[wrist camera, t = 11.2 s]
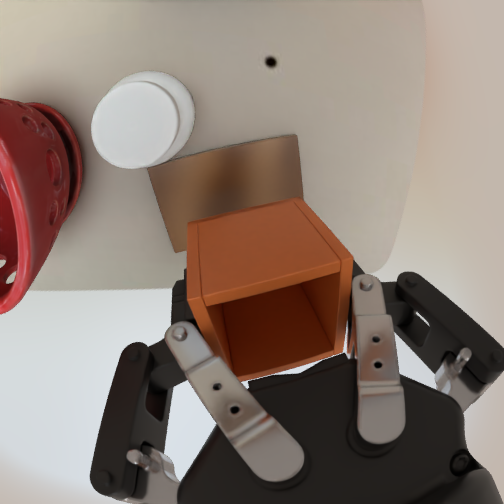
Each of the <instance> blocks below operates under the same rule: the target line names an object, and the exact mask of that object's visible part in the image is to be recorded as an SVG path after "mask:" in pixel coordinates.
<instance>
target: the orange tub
mask: <svg viewBox="0 0 504 504" xmlns="http://www.w3.org/2000/svg"><path fill="white" fill-rule="evenodd" d="M352 271H353V256H352V255H351V253H350V252H349V251H348V250H347V249H346V248H345V246H344V245H343V244H342V243H341V242H340V241H339V239H338V238H337V237H336V236H335V235H334V234H333V233H332V231H331V230H330V229H329V228H328V227H327V226H326V225H325V224H324V222H323V221H322V220H321V219H320V218H319V217H318V216H317V215H316V214H315V213H314V211H313V210H312V209H311V208H310V207H309V206H308V205H307V204H306V203H305V202H304V201H303V200H302V198H301V197H295V198H290V199H285V200H280V201H276V202H271V203H267V204H262V205H258V206H253V207H249V208H244V209H240V210H236V211H232V212H227V213H223V214H219V215H215V216H211V217H207V218H203V219H199V220H195V221H191V222H188V223H187V301H188V303H189V306H190V308H191V310H192V313H193V315H194V317H195V319H196V322H197V324H198V326H199V328H200V331H201V333H202V335H203V337H204V339H205V341H206V343H207V344H208V345H209V347H210V348H211V349H212V350H213V352H214V353H215V354H218V355H219V356H220V357H221V358H222V360H223V361H224V362H225V363H226V365H227V366H228V367H229V368H230V370H231V371H232V372H233V373H234V374H235V376H236V377H237V378H238V379H239V381H240V382H242V381H246V380H251V379H255V378H259V377H263V376H267V375H271V374H275V373H278V372H282V371H286V370H289V369H292V368H296V367H299V366H302V365H306V364H309V363H312V362H315V361H318V360H321V359H325V358H328V357H331V356H333V355H336V354H339V353H342V352H343V347H344V341H345V334H346V327H347V319H348V311H349V302H350V293H351V282H352Z"/></svg>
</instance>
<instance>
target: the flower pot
mask: <svg viewBox="0 0 504 504" xmlns="http://www.w3.org/2000/svg"><path fill="white" fill-rule="evenodd" d="M81 182H82V158H81V152H80V148H79V144H78V141H77V138H76V136H75V134H74V132H73V130H72V128H71V127H70V125H69V123H68V122H67V121H66V120H65V118H64V117H63V116H62V115H61V114H60V113H59V112H57V111H56V110H55V109H53V108H51V107H49V106H47V105H44V104H41V103H21V102H18V101H13V100H8V99H1V98H0V260H6V263H5V265H4V266H3V267H1V268H0V314H3V313H6V312H8V311H10V310H11V309H13V308H14V307H15V306H16V305H17V304H18V303H19V302H20V301H21V300H22V298H23V297H24V295H25V294H26V292H27V291H28V289H29V287H30V286H31V284H32V283H33V281H34V279H35V278H36V276H37V274H38V273H39V271H40V269H41V267H42V266H43V264H44V262H45V260H46V258H47V257H48V255H49V253H50V251H51V249H52V247H53V244H54V242H55V240H56V238H57V235H58V233H59V230H60V228H61V225H62V223H63V222H64V221H65V220H66V219H67V218H68V216H69V215H70V213H71V212H72V210H73V208H74V206H75V204H76V202H77V199H78V196H79V192H80V188H81ZM15 271H17V272H16V276H15V280H14V282H12V283H9V284H6V280H7V279H8V277H9V276H10V275H11V274H12V273H13V272H15Z"/></svg>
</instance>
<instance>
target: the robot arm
mask: <svg viewBox="0 0 504 504" xmlns="http://www.w3.org/2000/svg"><path fill="white" fill-rule="evenodd" d="M416 311H417V312H418V313H419V314H420V315H421V316H422V317H424V319H425V320H426V321H427V322H428V323H429V326H430V327H429V326H428V325H427V324H426V323H425V322H424V321H423V320H422V319H421V318H420V317H419V316H417V314H416ZM394 332H395V333H396V334H397V335H398V336H399V337H400V338H401V339H402V340H403V341H404V342H405V343H406V344H407V345H408V346H409V347H410V348H411V349H412V351H413V352H415V354H416V355H417V356H418V357H419V358H420V359H421V360H422V361H423V362H424V363H425V364H426V365H427V366H428V368H429V369H431V371H432V372H433V373H434V374H435V382H436V384H437V386H436V388H437V390H436V389H433V388H431V387H429V386H426V385H424V384H422V383H419V382H417V381H415V380H412V379H410V378H408V377H406V376H403V375H401V374H399V366H398V357H397V349H396V342H395V335H394ZM503 371H504V348H503V347H502V346H501V345H500V344H499V343H498V342H497V341H496V340H495V339H494V338H493V337H492V336H491V335H489V334H488V333H487V332H486V331H485V330H484V329H483V328H482V327H481V326H480V325H479V324H478V323H476V322H475V321H474V320H473V319H472V318H471V317H470V316H469V315H467V314H466V313H465V312H464V311H463V310H462V309H461V308H459V307H458V306H457V305H456V304H455V303H453V302H452V301H451V300H450V299H449V298H448V297H446V296H445V295H444V294H443V293H441V292H440V291H439V290H438V289H437V288H435V287H434V286H433V285H432V284H430V283H429V282H428V281H427V280H425V279H424V278H423V277H422V276H420V275H419V274H417V273H414V272H403V273H401V274H400V275H399V276H398V278H397V282H380V280H379V279H378V278H377V277H375V276H373V275H370V274H365V273H364V272H363V270H362V269H361V268H360V267H359V265H358V264H357V263H356V262H355V261H354V259H353V271H352V282H351V293H350V302H349V311H348V319H347V355H346V354H345V353H342V354H339V355H336V356H333V357H331V358H328V359H325V360H322V361H320V362H319V363H317V364H315V365H314V366H312V367H310V368H309V369H307V370H305V371H303V372H301V373H298V374H284V375H271V376H267V377H263V378H259V379H255V380H251V381H248V384H249V388H248V389H246V388H245V386H244V385H243V384H242V383H241V382H240V381H239V379H238V378H237V377H236V376H235V374H234V373H233V372H232V371H231V370H230V368H229V367H228V366H227V365H226V363H225V362H224V361H223V360H222V358H221V357H220V356H219V355H218V354H215V353H214V352H213V350H212V349H211V348H210V347H209V345H208V344H207V343H206V341H205V339H204V337H203V335H202V333H201V331H200V328H199V326H198V324H197V322H196V319H195V317H194V315H193V313H192V310H191V308H190V306H189V303H188V301H187V268H186V269H184V279H183V280H179V281H176V283H175V285H174V287H173V289H172V311H171V326H170V327H169V328H168V329H167V331H166V333H165V337H164V339H162V340H161V341H159V342H157V343H155V344H153V345H151V346H149V347H148V346H147V345H146V344H144V343H141V342H135V343H132V344H130V345H128V346H127V347H126V348H125V349H124V350H123V351H122V353H121V356H120V359H119V362H118V365H117V368H116V371H115V375H114V378H113V381H112V385H111V388H110V392H109V395H108V399H107V402H106V406H105V409H104V413H103V417H102V421H101V426H100V429H99V433H98V438H97V442H96V447H95V451H94V456H93V461H92V466H91V471H90V481H91V484H92V486H93V488H94V489H95V490H96V491H97V492H98V493H100V494H102V495H105V496H108V497H112V498H114V499H116V500H119V501H124V502H127V503H132V504H503V502H502V499H501V496H500V494H499V492H498V489H497V487H496V485H495V482H494V480H493V478H492V476H491V474H490V473H489V471H487V470H486V469H485V468H484V467H483V466H482V465H481V464H479V463H478V462H477V461H476V460H475V459H474V458H473V457H472V455H471V454H470V453H469V451H468V449H467V445H466V440H465V431H464V414H463V413H464V411H465V410H466V409H467V408H468V407H469V406H470V405H471V404H473V403H474V402H475V401H476V400H477V399H478V398H479V397H480V396H481V395H482V394H483V393H484V392H485V391H486V390H487V389H488V388H489V387H490V386H491V384H493V382H494V381H495V380H496V379H497V378H498V377H499V376H500V374H501V373H502V372H503ZM186 380H188V381H189V383H190V384H191V386H192V388H193V389H194V390H195V392H196V394H197V395H198V397H199V398H200V400H201V401H202V403H203V404H204V406H205V407H206V409H207V410H208V412H209V413H210V415H211V416H212V418H213V419H214V420H215V422H216V423H217V424H216V426H215V427H214V429H213V431H212V432H211V434H210V436H209V437H208V439H207V441H206V442H205V444H204V445H203V447H202V449H201V450H200V452H199V454H198V455H197V457H196V458H195V460H194V461H193V463H192V465H191V467H190V468H189V469H188V471H187V472H186V474H185V476H184V477H183V479H182V480H181V482H180V481H179V480H178V479H177V478H176V475H175V472H174V464H173V462H172V460H171V459H170V458H169V457H168V456H166V455H165V454H164V449H165V440H166V434H167V426H168V419H169V413H170V406H171V399H172V393H173V387H174V386H176V385H178V384H180V383H182V382H184V381H186Z"/></svg>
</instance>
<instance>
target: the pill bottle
mask: <svg viewBox="0 0 504 504" xmlns="http://www.w3.org/2000/svg"><path fill="white" fill-rule="evenodd" d="M194 122H195V105H194V101H193V98H192V95H191V93H190V92H189V90H188V89H187V88H186V87H185V85H184V84H182V83H181V82H180V81H179V80H178V79H176V78H175V77H173V76H171V75H169V74H167V73H164V72H159V71H142V72H137V73H134V74H131V75H129V76H127V77H125V78H123V79H121V80H120V81H119V82H117V83H116V84H115V85H114V86H113V87H112V88H111V89H110V90H109V91H108V93H107V94H106V95H105V96H104V97H103V98H102V100H101V101H100V102H99V104H98V105H97V107H96V109H95V112H94V114H93V117H92V122H91V135H92V140H93V143H94V145H95V148H96V149H97V151H98V153H99V154H100V155H101V156H102V157H103V158H104V159H105V160H106V161H107V162H109V163H110V164H112V165H114V166H117V167H120V168H124V169H138V168H142V167H151V166H155V165H158V164H161V163H163V162H165V161H167V160H168V159H170V158H171V157H173V156H174V155H175V154H176V153H178V152H179V151H180V150H181V149H182V147H183V146H184V145H185V144H186V142H187V140H188V139H189V137H190V135H191V133H192V130H193V127H194Z"/></svg>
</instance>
